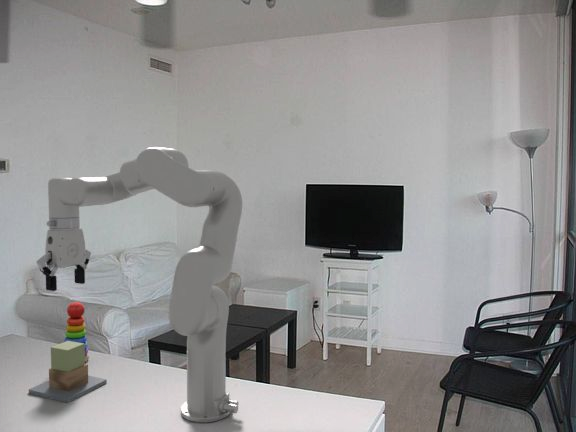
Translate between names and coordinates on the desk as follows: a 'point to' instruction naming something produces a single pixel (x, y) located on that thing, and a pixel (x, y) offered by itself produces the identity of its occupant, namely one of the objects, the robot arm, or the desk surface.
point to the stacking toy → (76, 326)
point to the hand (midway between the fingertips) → (66, 286)
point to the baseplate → (67, 395)
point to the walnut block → (68, 378)
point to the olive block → (67, 356)
